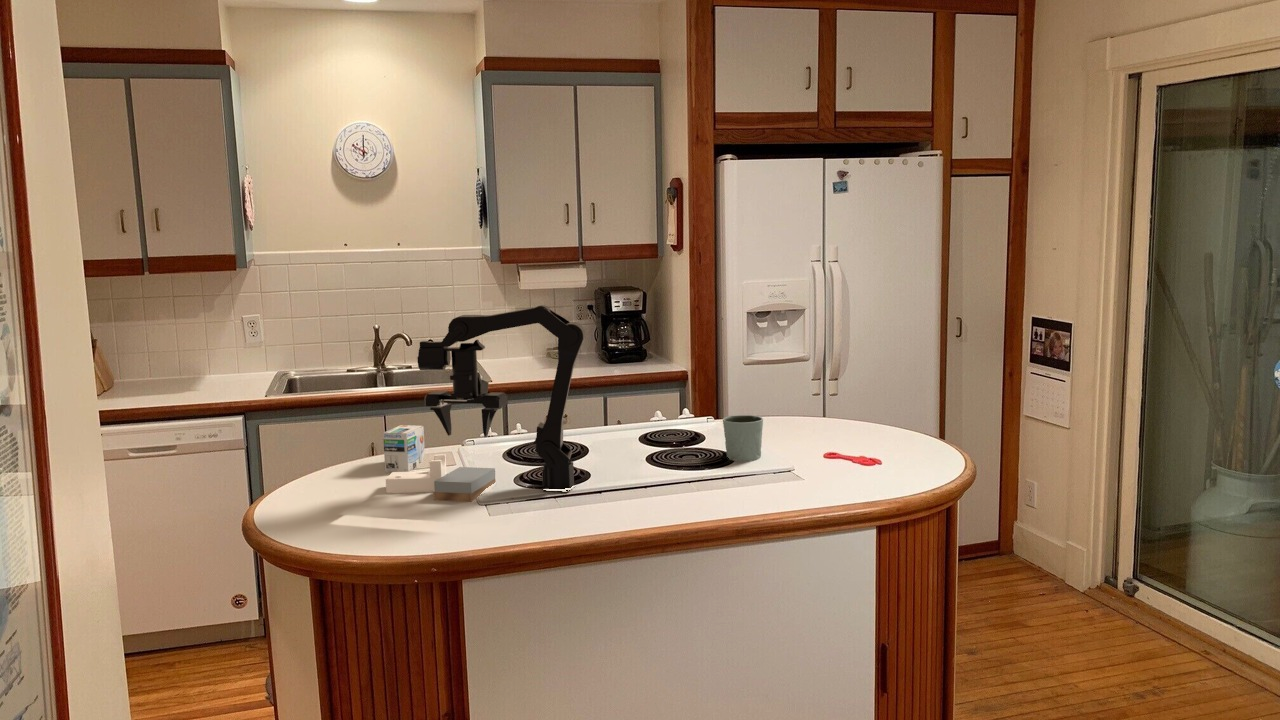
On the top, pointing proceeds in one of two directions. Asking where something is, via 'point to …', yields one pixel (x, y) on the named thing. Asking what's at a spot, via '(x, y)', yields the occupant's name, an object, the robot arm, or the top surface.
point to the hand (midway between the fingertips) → (467, 435)
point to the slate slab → (464, 480)
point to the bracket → (417, 478)
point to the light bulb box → (403, 448)
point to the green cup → (743, 437)
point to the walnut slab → (461, 494)
